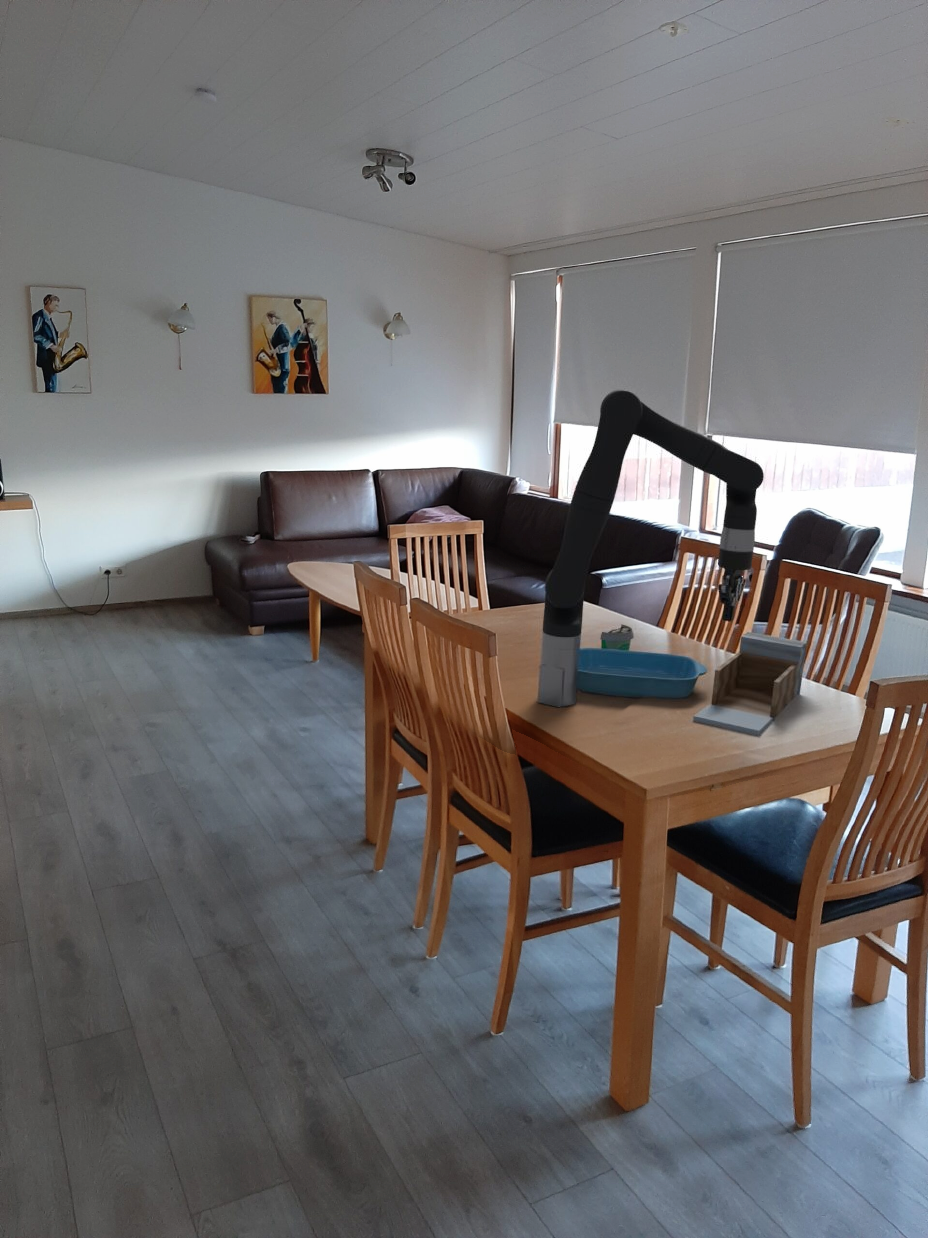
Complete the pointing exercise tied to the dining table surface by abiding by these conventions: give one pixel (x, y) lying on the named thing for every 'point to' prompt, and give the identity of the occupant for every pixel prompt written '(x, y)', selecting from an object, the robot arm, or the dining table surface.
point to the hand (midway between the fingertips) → (727, 620)
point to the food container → (617, 638)
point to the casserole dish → (637, 673)
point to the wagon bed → (760, 675)
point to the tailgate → (733, 719)
